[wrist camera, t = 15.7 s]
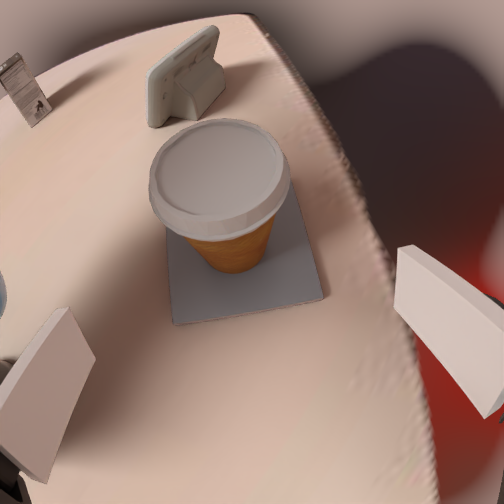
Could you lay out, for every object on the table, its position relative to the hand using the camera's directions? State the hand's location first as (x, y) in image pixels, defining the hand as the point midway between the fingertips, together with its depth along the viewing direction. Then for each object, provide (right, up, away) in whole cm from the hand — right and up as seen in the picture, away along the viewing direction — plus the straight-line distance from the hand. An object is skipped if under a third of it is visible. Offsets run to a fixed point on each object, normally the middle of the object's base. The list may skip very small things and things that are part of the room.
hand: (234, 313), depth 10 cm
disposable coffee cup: (-1, +3, +18) cm, 19 cm away
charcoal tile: (-1, +3, +19) cm, 19 cm away
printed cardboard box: (-46, +33, +35) cm, 67 cm away
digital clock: (-9, +26, +30) cm, 40 cm away
